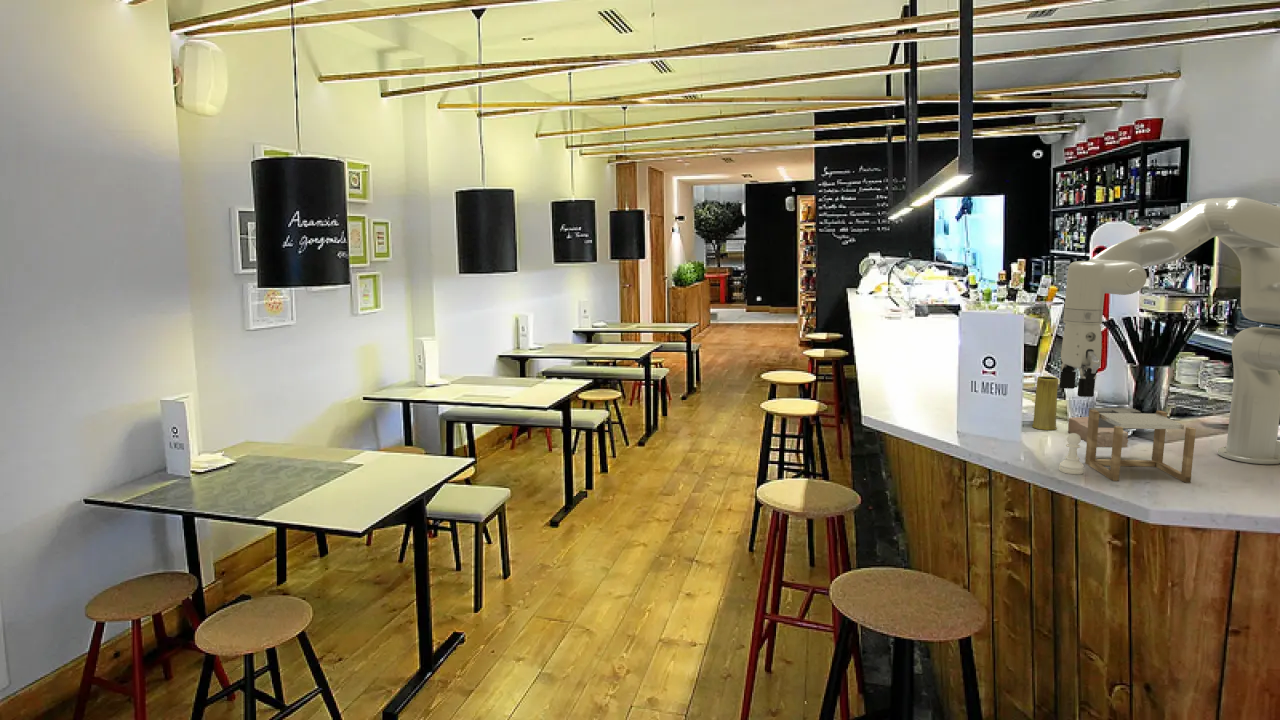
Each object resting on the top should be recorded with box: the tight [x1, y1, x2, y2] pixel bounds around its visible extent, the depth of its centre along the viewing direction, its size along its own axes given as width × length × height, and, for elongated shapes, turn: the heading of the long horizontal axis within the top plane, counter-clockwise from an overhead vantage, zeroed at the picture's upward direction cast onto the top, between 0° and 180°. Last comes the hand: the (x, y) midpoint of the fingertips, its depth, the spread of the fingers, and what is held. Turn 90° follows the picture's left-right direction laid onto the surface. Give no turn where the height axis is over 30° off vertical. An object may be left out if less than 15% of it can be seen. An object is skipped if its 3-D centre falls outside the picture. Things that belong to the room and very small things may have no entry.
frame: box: [1084, 409, 1197, 484], centre depth 181 cm, size 16×14×13 cm
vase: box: [1031, 375, 1059, 431], centre depth 224 cm, size 6×6×14 cm
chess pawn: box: [1058, 433, 1085, 475], centre depth 183 cm, size 5×5×9 cm
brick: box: [1067, 416, 1129, 449], centre depth 212 cm, size 17×8×5 cm, turn 176°
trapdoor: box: [1087, 407, 1185, 430], centre depth 185 cm, size 19×13×4 cm
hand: (1075, 392), depth 181 cm, fingers open, 9 cm apart
